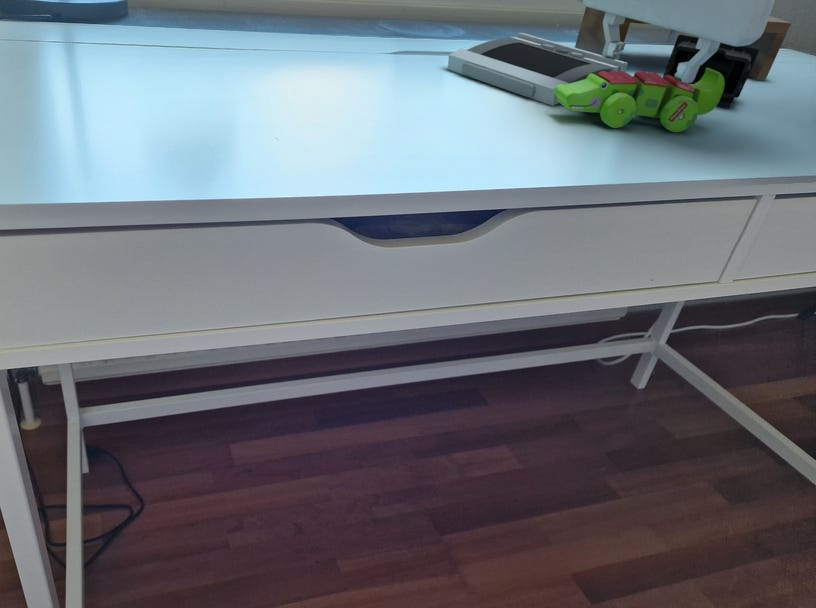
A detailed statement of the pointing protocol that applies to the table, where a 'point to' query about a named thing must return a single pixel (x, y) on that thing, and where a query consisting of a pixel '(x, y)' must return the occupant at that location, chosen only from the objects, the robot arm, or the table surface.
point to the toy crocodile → (643, 97)
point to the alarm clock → (530, 65)
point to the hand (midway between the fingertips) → (645, 69)
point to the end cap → (716, 65)
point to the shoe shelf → (593, 30)
